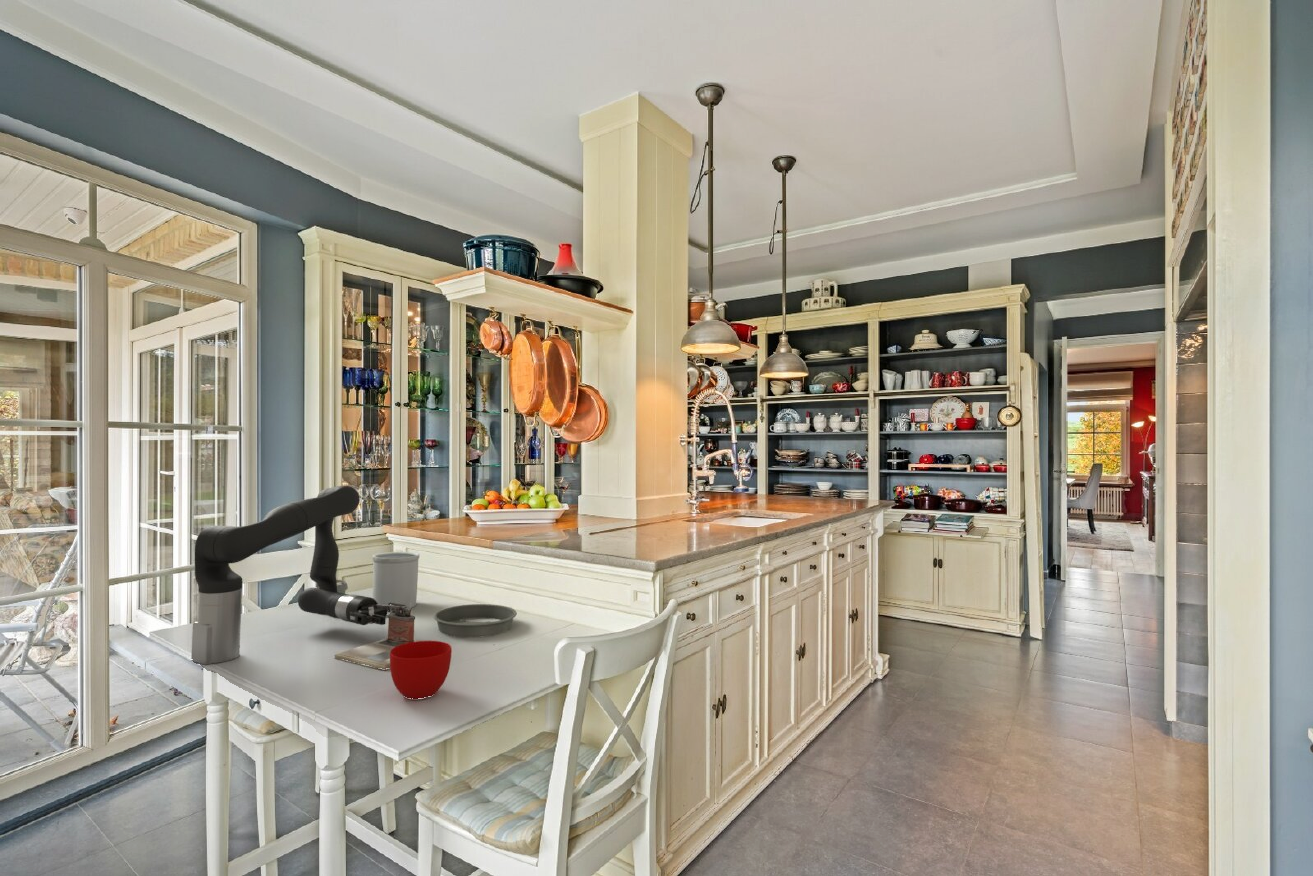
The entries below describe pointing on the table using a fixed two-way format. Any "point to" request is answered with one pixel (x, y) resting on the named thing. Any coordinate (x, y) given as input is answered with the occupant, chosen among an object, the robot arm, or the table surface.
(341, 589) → the food container
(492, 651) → the table surface
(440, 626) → the cake pan
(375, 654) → the book
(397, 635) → the lighter
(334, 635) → the table surface
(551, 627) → the table surface
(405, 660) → the red bowl
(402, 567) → the utensil holder
